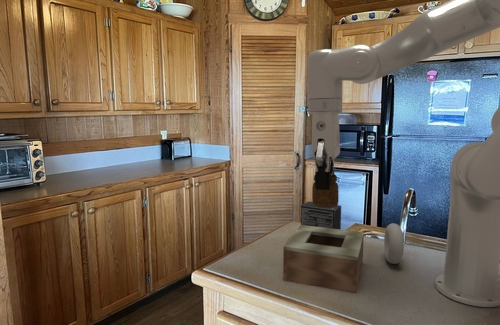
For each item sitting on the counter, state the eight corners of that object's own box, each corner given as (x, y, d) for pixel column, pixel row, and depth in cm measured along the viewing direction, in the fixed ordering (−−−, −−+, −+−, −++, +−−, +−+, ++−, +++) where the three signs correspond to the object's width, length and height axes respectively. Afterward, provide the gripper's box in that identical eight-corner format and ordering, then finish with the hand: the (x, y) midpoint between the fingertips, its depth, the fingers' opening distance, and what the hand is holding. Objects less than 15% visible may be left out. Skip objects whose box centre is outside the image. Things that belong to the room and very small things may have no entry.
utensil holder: (323, 209, 79) (323, 156, 78) (306, 203, 85) (306, 153, 83) (344, 205, 82) (344, 153, 80) (326, 200, 88) (325, 151, 86)
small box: (341, 239, 107) (342, 204, 105) (334, 246, 101) (335, 210, 100) (308, 232, 112) (309, 200, 111) (299, 239, 107) (300, 204, 105)
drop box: (362, 262, 90) (363, 232, 89) (356, 292, 76) (357, 256, 74) (300, 253, 96) (300, 224, 95) (283, 279, 81) (283, 246, 80)
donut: (404, 271, 85) (406, 231, 84) (388, 270, 86) (390, 230, 84) (395, 255, 95) (398, 218, 93) (382, 254, 96) (384, 217, 94)
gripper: (336, 106, 71) (336, 196, 74) (346, 106, 87) (346, 180, 89) (299, 107, 74) (300, 193, 76) (316, 107, 90) (316, 179, 92)
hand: (325, 185), depth 83 cm, fingers closed on utensil holder, 5 cm apart
